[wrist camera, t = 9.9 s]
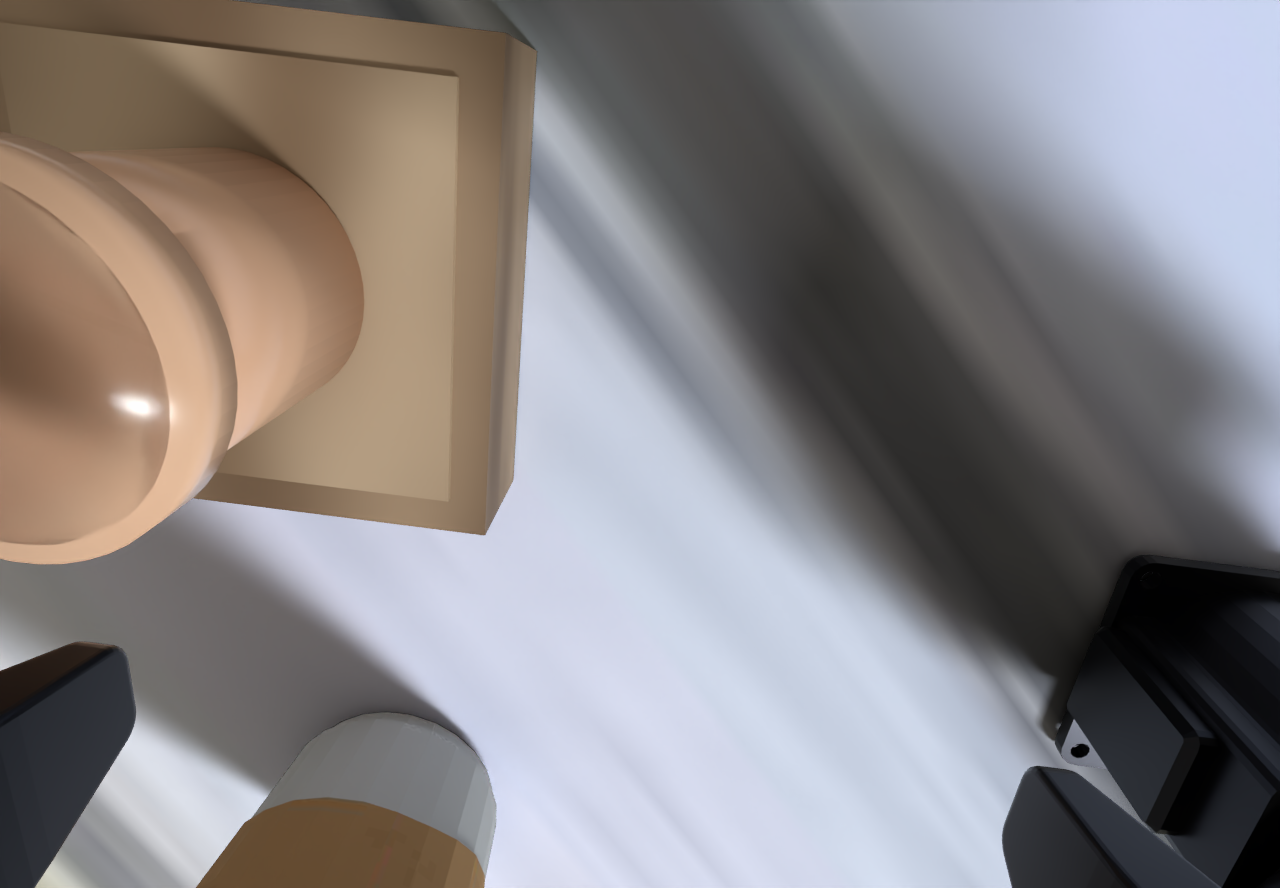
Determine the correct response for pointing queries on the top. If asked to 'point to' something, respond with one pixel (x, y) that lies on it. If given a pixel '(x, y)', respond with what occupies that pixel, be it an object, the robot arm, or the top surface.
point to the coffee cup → (369, 813)
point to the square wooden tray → (362, 202)
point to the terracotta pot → (151, 330)
